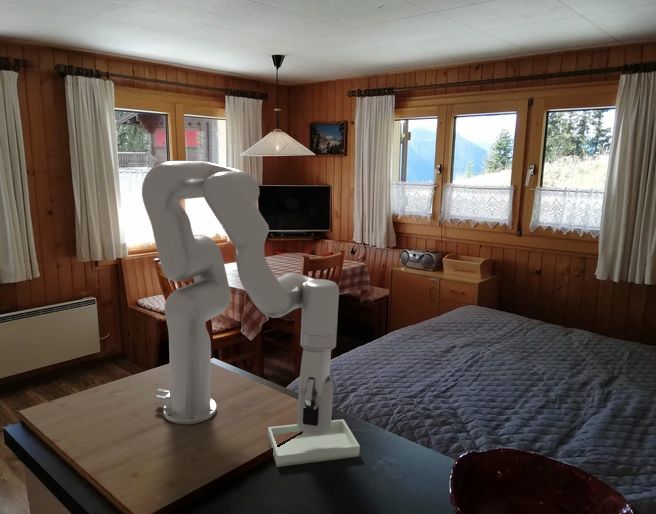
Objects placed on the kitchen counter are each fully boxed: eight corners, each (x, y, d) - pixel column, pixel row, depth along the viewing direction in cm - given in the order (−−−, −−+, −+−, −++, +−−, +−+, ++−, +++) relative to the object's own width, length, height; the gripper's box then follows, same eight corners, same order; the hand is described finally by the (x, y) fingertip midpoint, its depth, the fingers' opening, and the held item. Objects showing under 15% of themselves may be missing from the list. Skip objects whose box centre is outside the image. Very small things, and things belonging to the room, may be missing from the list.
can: (327, 440, 107) (330, 387, 105) (293, 434, 109) (295, 382, 106) (334, 422, 114) (337, 372, 112) (301, 417, 116) (304, 368, 113)
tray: (277, 466, 105) (277, 456, 104) (267, 437, 115) (267, 427, 115) (359, 456, 110) (359, 446, 109) (342, 428, 120) (343, 419, 120)
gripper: (310, 323, 116) (307, 394, 120) (290, 351, 99) (287, 433, 103) (342, 326, 115) (338, 398, 118) (327, 356, 98) (323, 438, 102)
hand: (314, 414), depth 111 cm, fingers closed on can, 7 cm apart
